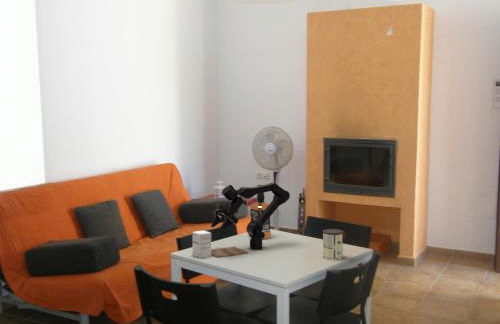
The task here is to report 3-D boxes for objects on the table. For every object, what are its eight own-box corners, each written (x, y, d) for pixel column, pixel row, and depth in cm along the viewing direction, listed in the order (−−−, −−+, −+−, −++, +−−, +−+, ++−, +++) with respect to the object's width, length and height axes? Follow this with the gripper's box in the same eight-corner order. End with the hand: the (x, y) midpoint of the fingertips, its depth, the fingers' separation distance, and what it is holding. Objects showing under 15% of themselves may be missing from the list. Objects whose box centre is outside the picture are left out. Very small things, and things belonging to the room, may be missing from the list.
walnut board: (234, 247, 302) (234, 246, 301) (248, 253, 289) (248, 252, 289) (204, 251, 292) (204, 250, 292) (216, 257, 279) (216, 256, 279)
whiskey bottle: (261, 235, 334) (261, 183, 332) (272, 237, 326) (272, 185, 324) (248, 237, 327) (248, 184, 325) (259, 240, 320) (259, 186, 317)
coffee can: (327, 254, 288) (327, 228, 287) (345, 256, 283) (346, 230, 282) (319, 258, 279) (319, 231, 278) (338, 261, 274) (338, 233, 273)
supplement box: (192, 255, 283) (191, 231, 282) (204, 253, 288) (204, 230, 287) (199, 258, 277) (199, 234, 276) (211, 256, 282) (211, 232, 281)
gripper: (216, 194, 295) (198, 216, 290) (233, 198, 279) (214, 221, 274) (229, 207, 300) (211, 229, 295) (246, 212, 284) (227, 235, 279)
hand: (215, 228), depth 286 cm, fingers open, 9 cm apart
